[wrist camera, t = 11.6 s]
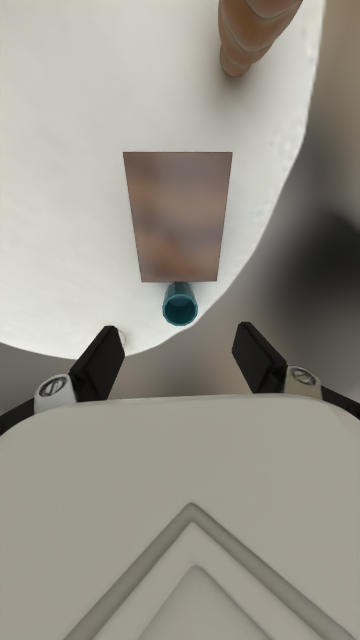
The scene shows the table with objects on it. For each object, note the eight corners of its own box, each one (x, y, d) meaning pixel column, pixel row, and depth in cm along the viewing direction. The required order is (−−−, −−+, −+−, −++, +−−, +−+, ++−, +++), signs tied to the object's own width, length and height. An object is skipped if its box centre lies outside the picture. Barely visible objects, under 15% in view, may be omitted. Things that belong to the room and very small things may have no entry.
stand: (138, 178, 21) (122, 151, 14) (216, 178, 21) (232, 151, 15) (149, 273, 27) (141, 282, 21) (207, 273, 28) (216, 281, 22)
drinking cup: (161, 294, 21) (163, 326, 24) (199, 294, 21) (197, 325, 24) (165, 281, 28) (166, 306, 31) (193, 281, 28) (192, 306, 31)
